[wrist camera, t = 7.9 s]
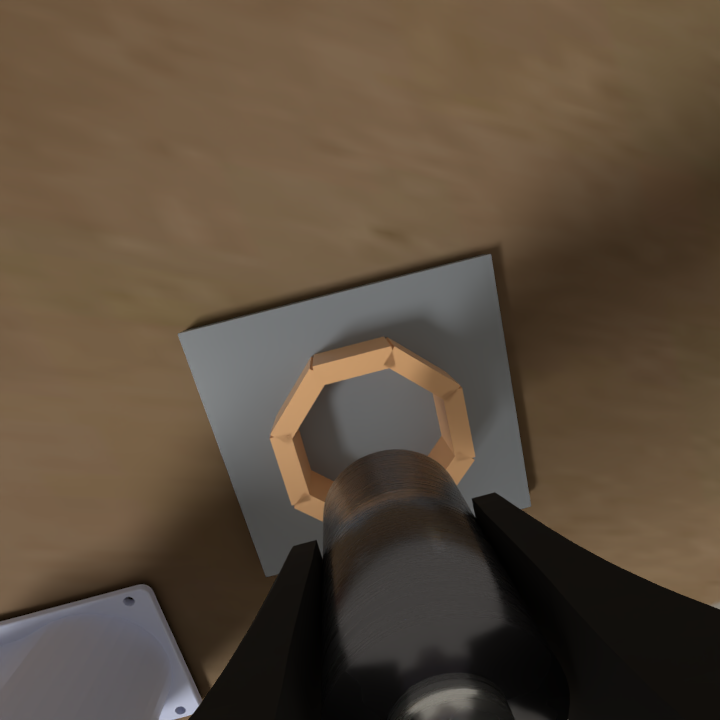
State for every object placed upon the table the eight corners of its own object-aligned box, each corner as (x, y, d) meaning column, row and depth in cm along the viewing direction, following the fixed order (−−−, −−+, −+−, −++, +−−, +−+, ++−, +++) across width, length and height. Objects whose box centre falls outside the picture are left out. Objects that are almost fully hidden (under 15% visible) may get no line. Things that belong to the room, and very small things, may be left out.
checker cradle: (268, 565, 20) (259, 612, 17) (184, 330, 17) (157, 343, 15) (523, 496, 20) (553, 533, 18) (483, 254, 17) (512, 253, 15)
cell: (343, 586, 12) (358, 873, 7) (306, 470, 11) (286, 689, 6) (471, 551, 12) (597, 806, 7) (446, 433, 11) (568, 609, 6)
